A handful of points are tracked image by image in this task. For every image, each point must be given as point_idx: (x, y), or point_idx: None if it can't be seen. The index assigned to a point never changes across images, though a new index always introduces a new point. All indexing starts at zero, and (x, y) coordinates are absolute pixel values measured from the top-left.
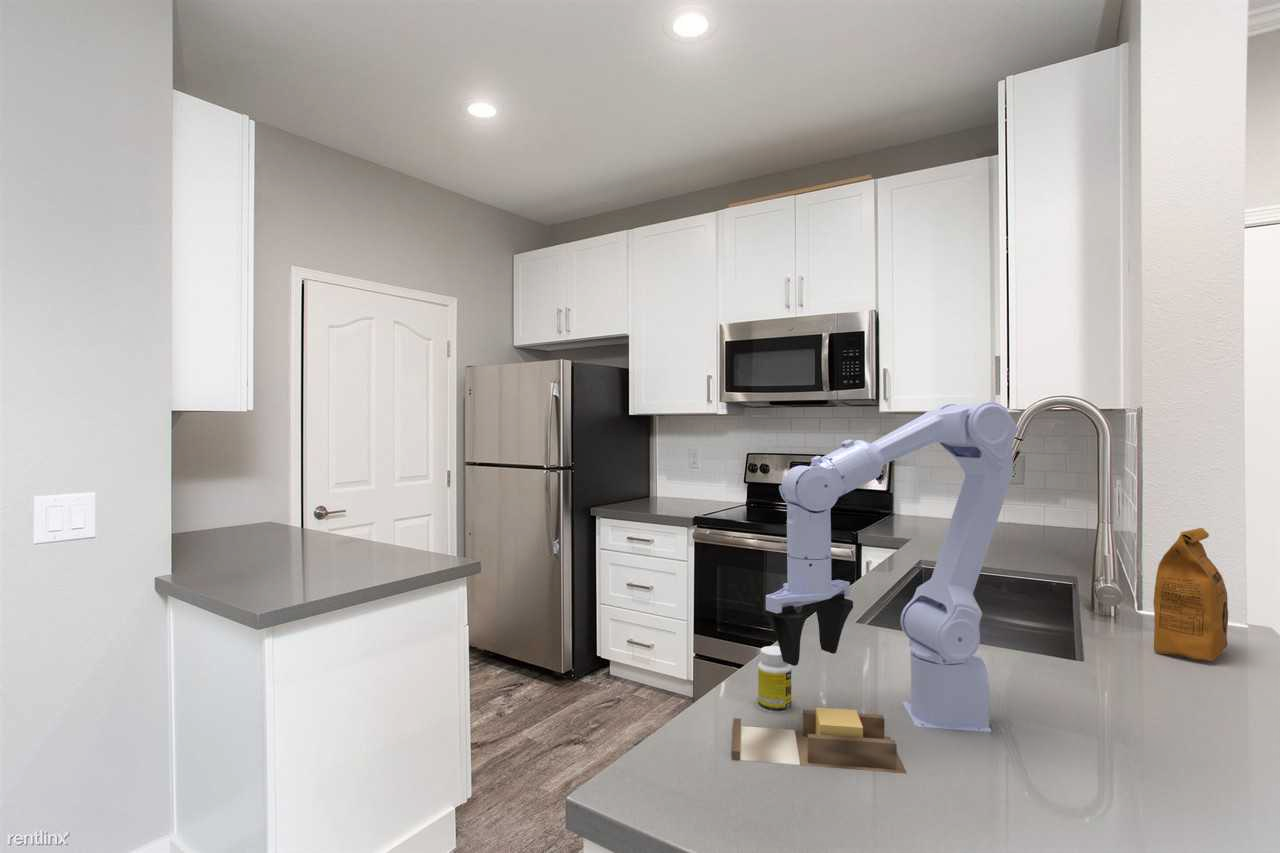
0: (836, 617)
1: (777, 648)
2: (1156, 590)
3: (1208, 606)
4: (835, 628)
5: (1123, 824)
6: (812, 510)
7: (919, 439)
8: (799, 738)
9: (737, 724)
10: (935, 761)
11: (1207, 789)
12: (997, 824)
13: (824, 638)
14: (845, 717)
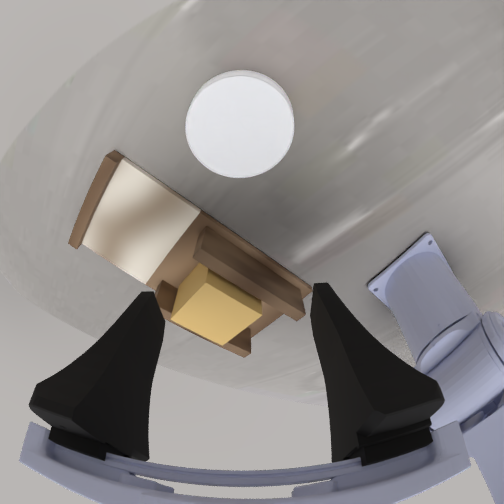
0: (331, 415)
1: (263, 119)
2: None
3: None
4: (327, 380)
5: (319, 396)
6: None
7: None
8: (187, 237)
9: (101, 180)
10: (306, 330)
11: None
12: (250, 382)
13: (322, 319)
14: (224, 322)
